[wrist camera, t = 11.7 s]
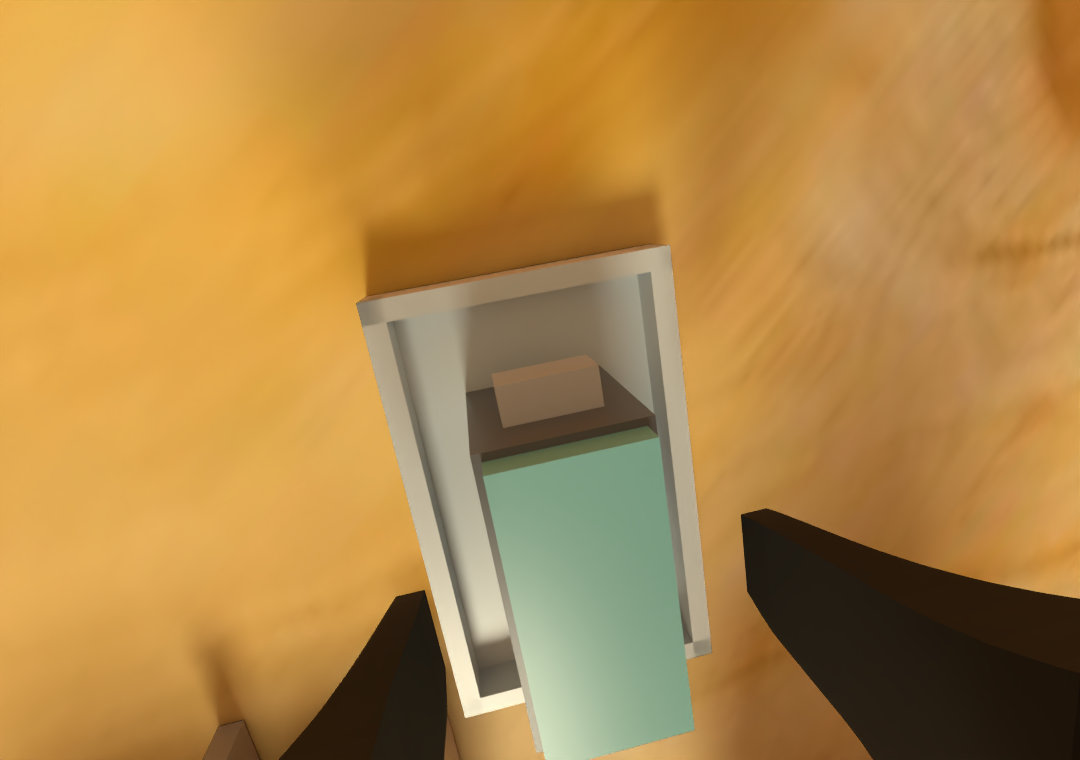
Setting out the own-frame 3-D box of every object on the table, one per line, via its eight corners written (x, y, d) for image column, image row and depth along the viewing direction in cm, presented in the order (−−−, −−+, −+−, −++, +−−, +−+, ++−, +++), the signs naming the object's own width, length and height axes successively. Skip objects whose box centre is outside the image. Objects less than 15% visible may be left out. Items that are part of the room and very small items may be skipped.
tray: (649, 244, 16) (670, 245, 15) (692, 620, 20) (711, 652, 18) (365, 296, 15) (355, 303, 14) (464, 678, 19) (465, 718, 17)
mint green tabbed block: (594, 332, 16) (661, 378, 11) (632, 593, 19) (703, 734, 13) (458, 359, 16) (459, 421, 10) (515, 622, 18) (540, 779, 13)
